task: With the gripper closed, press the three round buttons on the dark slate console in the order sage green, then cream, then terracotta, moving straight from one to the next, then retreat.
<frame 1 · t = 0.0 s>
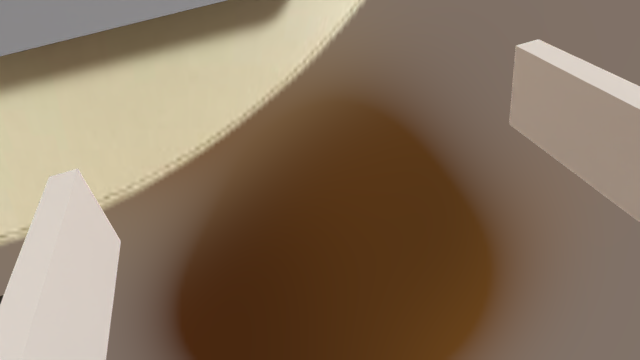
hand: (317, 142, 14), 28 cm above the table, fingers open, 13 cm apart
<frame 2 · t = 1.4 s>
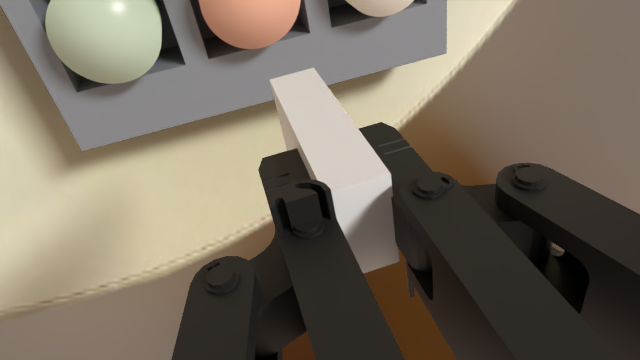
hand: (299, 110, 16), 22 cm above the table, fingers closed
button sage: (109, 22, 28), point 5 cm above the table, slide at 0.0 cm
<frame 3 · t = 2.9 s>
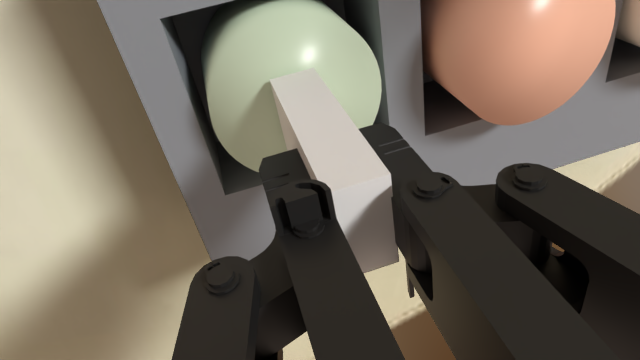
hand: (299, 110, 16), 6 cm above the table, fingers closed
button sage: (285, 79, 18), point 4 cm above the table, slide at 0.8 cm, touching gripper
button terracotta: (501, 29, 18), point 5 cm above the table, slide at 0.0 cm
console: (444, 1, 22), on the table
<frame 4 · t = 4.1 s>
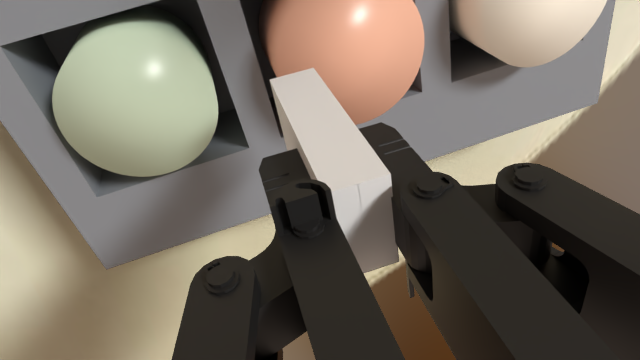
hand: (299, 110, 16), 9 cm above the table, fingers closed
button sage: (142, 89, 20), point 4 cm above the table, slide at 1.1 cm
button terracotta: (336, 39, 20), point 5 cm above the table, slide at 0.0 cm
console: (310, 12, 23), on the table
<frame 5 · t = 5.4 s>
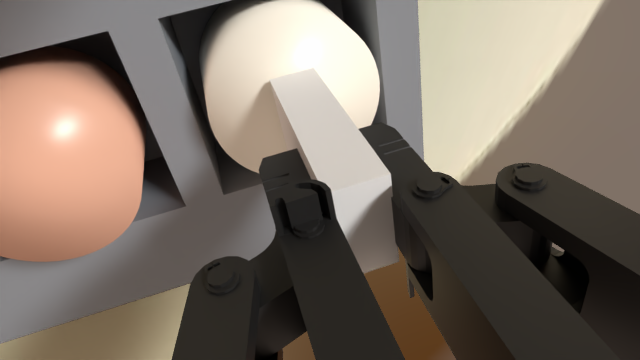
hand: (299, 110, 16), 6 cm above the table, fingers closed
button cream: (284, 79, 18), point 4 cm above the table, slide at 0.8 cm, touching gripper
button terracotta: (51, 152, 16), point 5 cm above the table, slide at 0.0 cm
console: (72, 98, 20), on the table
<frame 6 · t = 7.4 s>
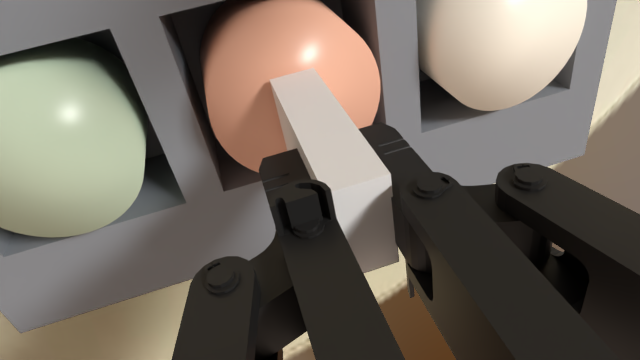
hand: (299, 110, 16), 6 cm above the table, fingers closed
button cream: (482, 20, 19), point 4 cm above the table, slide at 1.0 cm
button sage: (58, 135, 17), point 4 cm above the table, slide at 1.1 cm
button terracotta: (284, 79, 18), point 4 cm above the table, slide at 0.6 cm, touching gripper
console: (266, 45, 21), on the table
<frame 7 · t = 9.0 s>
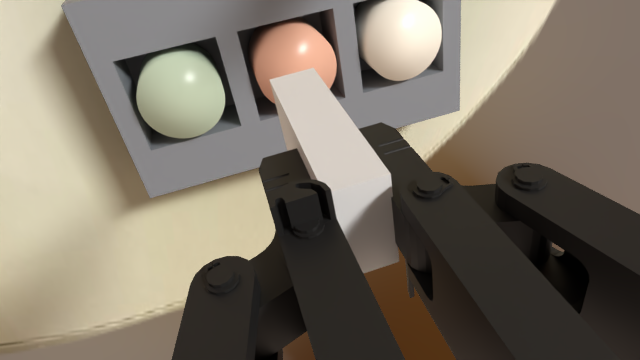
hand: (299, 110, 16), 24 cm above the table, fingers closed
button cream: (393, 34, 37), point 4 cm above the table, slide at 1.0 cm
button sage: (181, 89, 35), point 4 cm above the table, slide at 1.1 cm
button terracotta: (290, 61, 36), point 4 cm above the table, slide at 1.0 cm
console: (281, 47, 39), on the table
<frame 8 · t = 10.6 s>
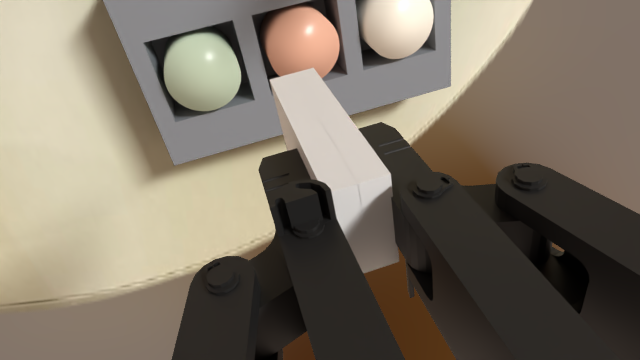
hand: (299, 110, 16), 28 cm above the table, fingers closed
button cream: (390, 17, 41), point 4 cm above the table, slide at 1.0 cm
button sage: (201, 67, 39), point 4 cm above the table, slide at 1.1 cm
button terracotta: (298, 41, 40), point 4 cm above the table, slide at 1.0 cm
console: (289, 30, 43), on the table
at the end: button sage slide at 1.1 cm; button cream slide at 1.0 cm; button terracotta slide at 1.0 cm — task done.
